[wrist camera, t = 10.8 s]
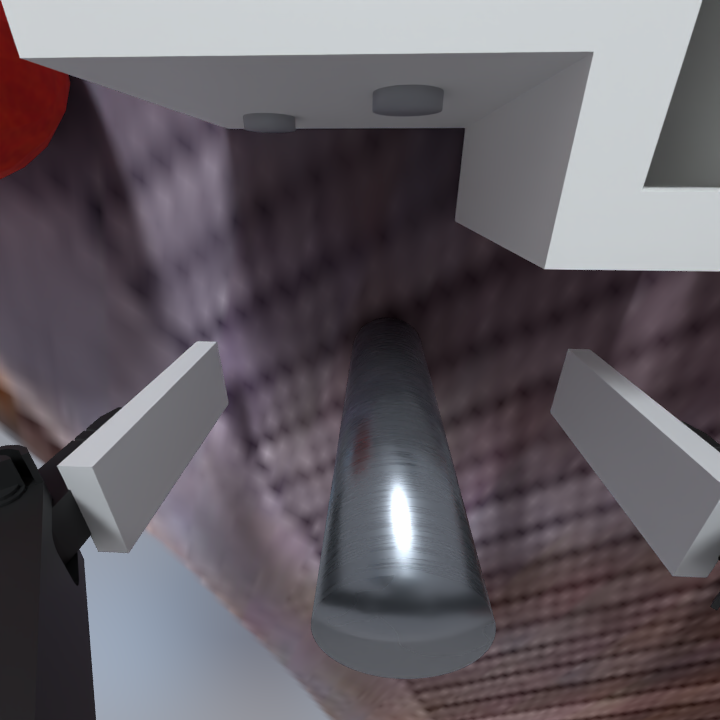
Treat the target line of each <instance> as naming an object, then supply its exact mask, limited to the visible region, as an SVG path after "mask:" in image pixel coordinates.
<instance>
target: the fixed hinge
mask: <svg viewBox="0 0 720 720" xmlns="http://www.w3.org/2000/svg"><path fill="white" fill-rule="evenodd" d="M1 2H2V5H3V8H4V11H5V14H6V17H7V20H8V23H9V26H10V29H11V32H12V35H13V38H14V42H15V45H16V48H17V51H18V54H19V57H20V58H21V59H24V60H27V61H30V62H33V63H36V64H39V65H42V66H45V67H48V68H51V69H54V70H57V71H60V72H63V73H66V74H68V75H71V76H74V77H77V78H80V79H83V80H86V81H89V82H92V83H95V84H98V85H101V86H104V87H107V88H110V89H113V90H115V91H118V92H121V93H124V94H127V95H130V96H133V97H136V98H139V99H142V100H145V101H148V102H151V103H154V104H157V105H159V106H162V107H165V108H168V109H171V110H174V111H177V112H180V113H183V114H186V115H189V116H192V117H195V118H198V119H201V120H204V121H206V122H209V123H212V124H215V125H218V126H221V127H224V128H227V129H245V130H247V131H253V132H264V133H287V132H294V131H296V129H332V128H465V134H464V143H463V152H462V161H461V170H460V179H459V188H458V197H457V205H456V214H455V222H457V223H459V224H461V225H463V226H465V227H467V228H468V229H470V230H472V231H474V232H476V233H478V234H480V235H481V236H483V237H485V238H487V239H489V240H491V241H493V242H494V243H496V244H498V245H500V246H502V247H504V248H506V249H507V250H509V251H511V252H513V253H515V254H517V255H519V256H521V257H522V258H524V259H526V260H528V261H530V262H532V263H534V264H535V265H537V266H539V267H541V268H543V269H565V270H650V271H720V0H1Z"/></svg>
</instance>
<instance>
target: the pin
mask: <svg viewBox="0 0 720 720" xmlns="http://www.w3.org/2000/svg"><path fill="white" fill-rule="evenodd" d="M311 630H312V635H313V637H314V639H315V641H316V643H317V644H318V646H319V647H320V648H321V649H322V650H323V651H324V652H325V653H326V654H327V655H328V656H329V657H331V658H332V659H334V660H335V661H337V662H338V663H340V664H342V665H344V666H346V667H348V668H351V669H353V670H356V671H359V672H362V673H365V674H370V675H374V676H379V677H386V678H396V679H417V678H427V677H434V676H439V675H443V674H447V673H451V672H454V671H456V670H459V669H461V668H464V667H466V666H468V665H470V664H471V663H473V662H475V661H476V660H477V659H479V658H480V657H481V656H482V655H483V654H484V653H485V652H486V651H487V650H488V649H489V647H490V646H491V645H492V642H493V640H494V638H495V632H496V626H495V620H494V617H493V613H492V609H491V605H490V602H489V598H488V594H487V590H486V586H485V583H484V579H483V575H482V571H481V568H480V564H479V560H478V556H477V552H476V549H475V545H474V541H473V537H472V533H471V530H470V526H469V522H468V518H467V515H466V511H465V507H464V503H463V499H462V496H461V492H460V488H459V484H458V480H457V477H456V473H455V469H454V465H453V462H452V458H451V454H450V450H449V446H448V443H447V439H446V435H445V431H444V428H443V424H442V420H441V416H440V412H439V409H438V405H437V401H436V397H435V393H434V390H433V386H432V382H431V378H430V375H429V371H428V367H427V363H426V359H425V356H424V352H423V348H422V344H421V341H420V338H419V336H418V334H417V332H416V331H415V330H414V328H413V327H411V326H410V325H409V324H407V323H406V322H404V321H402V320H399V319H395V318H380V319H376V320H373V321H371V322H369V323H368V324H366V325H365V326H364V327H362V329H361V330H360V331H359V332H358V333H357V335H356V337H355V340H354V343H353V349H352V355H351V362H350V369H349V375H348V382H347V388H346V395H345V402H344V408H343V415H342V421H341V428H340V435H339V441H338V448H337V454H336V461H335V468H334V474H333V481H332V487H331V494H330V501H329V507H328V514H327V520H326V527H325V534H324V540H323V547H322V554H321V560H320V567H319V573H318V580H317V587H316V593H315V600H314V606H313V613H312V620H311Z"/></svg>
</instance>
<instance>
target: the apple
mask: <svg viewBox="0 0 720 720" xmlns="http://www.w3.org/2000/svg"><path fill="white" fill-rule="evenodd" d="M69 88H70V80H69V75H68V74H66V73H63V72H60V71H57V70H54V69H51V68H48V67H45V66H42V65H39V64H36V63H33V62H30V61H27V60H24V59H21V58H20V57H19V54H18V51H17V48H16V45H15V42H14V38H13V35H12V32H11V29H10V26H9V23H8V20H7V17H6V14H5V11H4V8H3V5H2V2H1V0H0V179H2V178H4V177H6V176H8V175H10V174H12V173H14V172H16V171H18V170H20V169H22V168H24V167H25V166H26V165H28V164H29V163H30V162H31V161H32V160H33V159H34V158H35V157H36V156H37V155H39V154H40V153H41V152H42V151H43V150H44V149H45V148H46V147H47V146H48V144H49V142H50V141H51V139H52V137H53V135H54V133H55V131H56V129H57V127H58V125H59V123H60V121H61V119H62V117H63V115H64V113H65V111H66V106H67V100H68V94H69Z"/></svg>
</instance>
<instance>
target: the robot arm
mask: <svg viewBox="0 0 720 720" xmlns="http://www.w3.org/2000/svg"><path fill="white" fill-rule="evenodd" d="M228 404H229V403H228V398H227V392H226V387H225V382H224V376H223V371H222V366H221V361H220V355H219V350H218V345H217V342H196V343H195V344H194V345H193V346H191V347H190V348H189V349H188V350H187V351H186V352H185V353H183V354H182V355H181V356H180V357H179V358H178V359H177V360H176V361H174V362H173V363H172V364H171V365H170V366H169V367H168V368H167V369H165V370H164V371H163V372H162V373H161V374H160V375H159V376H158V377H156V378H155V379H154V380H153V381H152V382H151V383H150V384H149V385H147V386H146V387H145V388H144V389H143V390H142V391H141V392H140V393H138V394H137V395H136V396H135V397H134V398H133V399H132V400H131V401H129V402H128V403H127V404H126V405H125V406H124V407H118V408H116V409H114V410H112V411H111V412H109V413H107V414H105V415H103V416H101V417H100V418H98V419H97V420H96V421H95V422H94V423H93V424H91V425H90V426H89V427H88V428H87V430H86V431H83V432H82V433H81V434H80V435H78V436H77V437H76V438H75V441H71V442H70V443H69V444H68V445H67V446H65V447H64V448H63V449H62V450H61V451H60V452H58V453H57V454H56V455H55V456H54V457H53V458H51V459H50V460H49V461H48V462H47V463H45V464H44V465H43V466H42V467H41V468H40V469H37V467H36V465H35V464H34V461H33V459H32V458H31V455H30V454H29V452H28V450H27V448H26V447H23V446H20V445H6V446H1V447H0V720H96V715H95V701H94V688H93V675H92V662H91V650H90V635H89V622H88V610H87V609H88V608H87V596H86V582H85V568H84V558H83V556H82V554H81V552H80V550H79V549H80V548H81V546H82V545H83V544H84V543H85V541H86V540H87V539H88V538H89V537H90V535H91V537H92V539H93V541H94V543H95V545H96V548H97V549H98V552H118V553H129V552H130V550H131V549H132V547H133V546H134V544H135V543H136V541H137V540H138V538H139V537H140V535H141V534H142V532H143V531H144V529H145V528H146V526H147V525H148V523H149V522H150V520H151V519H152V517H153V516H154V515H155V513H156V512H157V510H158V509H159V507H160V506H161V504H162V503H163V501H164V500H165V498H166V497H167V495H168V494H169V492H170V491H171V489H172V488H173V486H174V485H175V483H176V482H177V480H178V479H179V477H180V476H181V474H182V473H183V471H184V470H185V468H186V467H187V465H188V464H189V462H190V461H191V459H192V458H193V456H194V455H195V453H196V452H197V450H198V449H199V447H200V446H201V444H202V443H203V441H204V440H205V438H206V437H207V435H208V434H209V432H210V431H211V429H212V428H213V426H214V425H215V423H216V422H217V420H218V419H219V417H220V416H221V414H222V413H223V411H224V410H225V408H226V407H227V405H228ZM550 413H551V414H552V415H553V417H554V418H555V419H556V421H557V422H558V423H559V425H560V426H561V427H562V429H563V430H564V431H565V433H566V434H567V435H568V437H569V438H570V439H571V441H572V442H573V443H574V445H575V446H576V448H577V449H578V450H579V452H580V453H581V454H582V456H583V457H584V458H585V460H586V461H587V462H588V464H589V465H590V466H591V468H592V469H593V470H594V472H595V473H596V474H597V476H598V477H599V478H600V480H601V481H602V482H603V484H604V485H605V486H606V488H607V489H608V490H609V492H610V493H611V494H612V496H613V497H614V498H615V500H616V501H617V502H618V504H619V505H620V506H621V508H622V509H623V510H624V512H625V513H626V514H627V516H628V517H629V518H630V520H631V521H632V522H633V524H634V525H635V526H636V528H637V529H638V531H639V532H640V533H641V535H642V536H643V537H644V539H645V540H646V541H647V543H648V544H649V545H650V547H651V548H652V549H653V551H654V552H655V553H656V555H657V556H658V557H659V559H660V560H661V561H662V563H663V564H664V565H665V567H666V568H667V569H668V571H669V572H670V573H671V575H672V576H681V577H705V578H707V577H708V575H709V574H710V572H711V571H712V569H713V568H714V566H715V565H716V563H717V562H718V560H720V444H718V443H717V442H716V441H715V440H713V439H712V438H711V437H709V436H708V435H707V434H705V433H704V432H702V431H700V430H698V429H696V428H694V427H692V426H690V425H689V424H687V423H685V422H683V421H679V420H678V419H677V418H676V417H674V416H673V415H672V414H671V413H669V412H668V411H667V410H666V409H664V408H663V407H662V406H661V405H659V404H658V403H657V402H656V401H654V400H653V399H652V398H650V397H649V396H648V395H647V394H645V393H644V392H643V391H642V390H640V389H639V388H638V387H637V386H635V385H634V384H633V383H632V382H630V381H629V380H628V379H627V378H625V377H624V376H623V375H621V374H620V373H619V372H618V371H616V370H615V369H614V368H613V367H611V366H610V365H609V364H608V363H606V362H605V361H604V360H603V359H601V358H600V357H599V356H598V355H596V354H595V353H594V352H592V351H591V350H590V349H568V351H567V354H566V358H565V361H564V365H563V368H562V372H561V375H560V379H559V382H558V386H557V389H556V393H555V396H554V400H553V403H552V407H551V411H550ZM719 607H720V592H719V593H718V595H717V596H716V597H715V599H714V600H713V602H712V604H711V608H713V609H715V610H718V608H719Z"/></svg>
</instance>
